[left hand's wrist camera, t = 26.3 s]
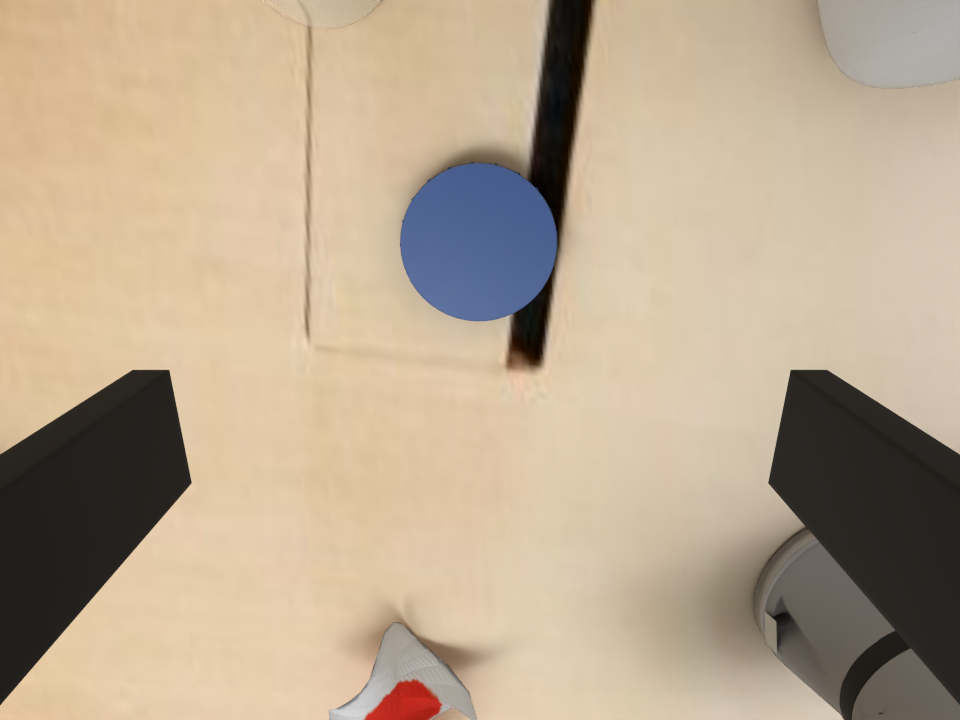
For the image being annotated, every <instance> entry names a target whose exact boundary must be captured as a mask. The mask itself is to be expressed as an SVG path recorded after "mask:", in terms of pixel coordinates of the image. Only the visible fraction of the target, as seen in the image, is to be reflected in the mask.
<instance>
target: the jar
mask: <svg viewBox="0 0 960 720" xmlns="http://www.w3.org/2000/svg"><path fill="white" fill-rule="evenodd" d="M261 1H263V2H264V3H266V4H267V5H269V6H270V7H272V8H273V9H275V10H276V11H278V12H279V13H281V14H282V15H284V16H285V17H287V18H288V19H290V20H292V21H294V22H296V23H299V24H302V25H305V26H308V27H313V28H318V29H332V28H340V27H344V26H347V25H350V24H352V23H355V22H357V21H359V20H360V19H362V18H364V17H365V16H367V15H368V14H369V13H370V12H371V11H373V10H374V9H375V8H376V7H377V6H378V4H379V3H380V2H381V1H382V0H261Z"/></svg>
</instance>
